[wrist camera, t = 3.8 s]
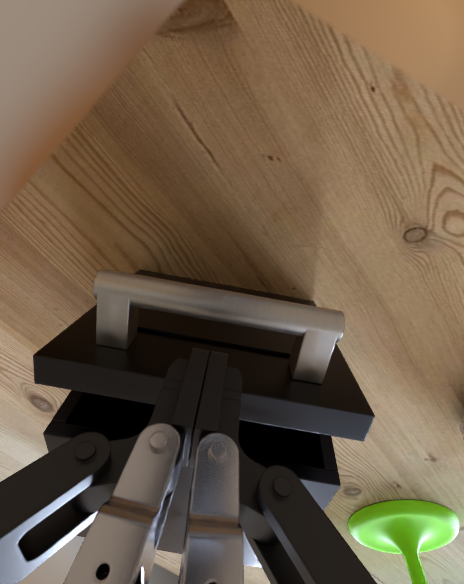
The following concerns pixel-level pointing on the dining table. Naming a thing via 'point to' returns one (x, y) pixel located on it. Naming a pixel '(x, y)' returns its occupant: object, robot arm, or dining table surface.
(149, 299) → the oven door
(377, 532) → the wineglass
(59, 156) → the dining table surface
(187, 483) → the oven
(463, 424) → the silver bottle
